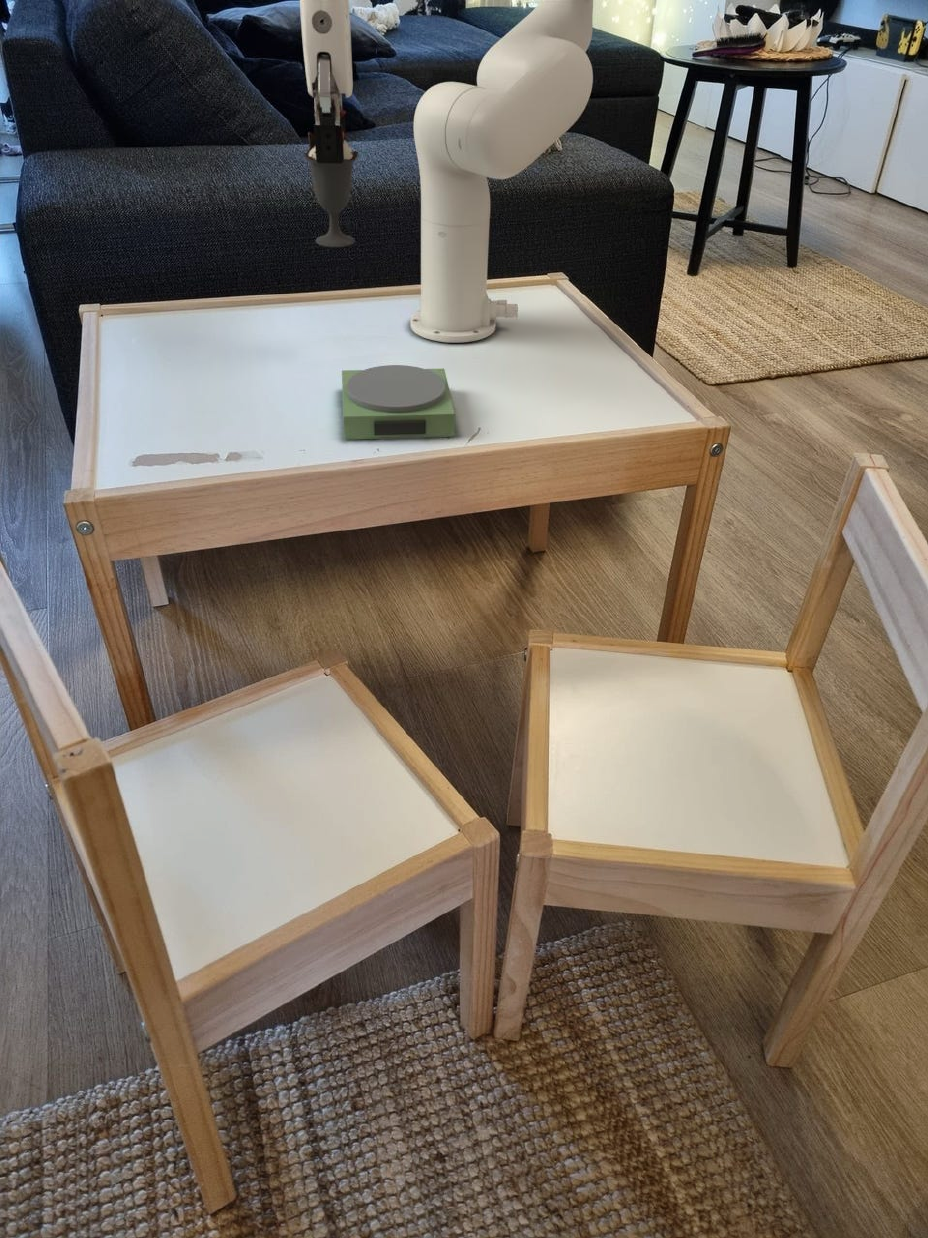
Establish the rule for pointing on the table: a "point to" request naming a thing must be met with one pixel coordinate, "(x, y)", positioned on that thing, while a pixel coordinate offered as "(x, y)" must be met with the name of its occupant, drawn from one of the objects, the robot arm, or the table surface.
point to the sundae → (332, 190)
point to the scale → (397, 403)
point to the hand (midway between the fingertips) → (331, 153)
